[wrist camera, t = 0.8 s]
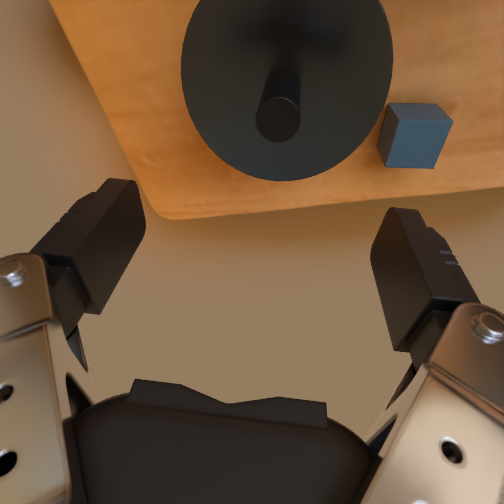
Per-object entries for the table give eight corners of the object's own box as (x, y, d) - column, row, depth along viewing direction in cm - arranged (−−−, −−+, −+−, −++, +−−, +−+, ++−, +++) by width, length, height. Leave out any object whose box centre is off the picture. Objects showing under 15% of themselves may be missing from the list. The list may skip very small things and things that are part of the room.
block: (436, 103, 29) (453, 120, 26) (420, 148, 32) (433, 169, 28) (388, 102, 29) (399, 119, 26) (376, 147, 32) (384, 167, 29)
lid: (389, -103, 15) (432, -135, 10) (388, 154, 24) (411, 204, 19) (149, -4, 19) (96, 8, 14) (224, 187, 27) (208, 236, 22)
